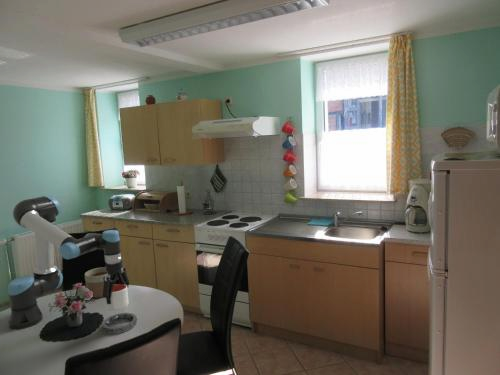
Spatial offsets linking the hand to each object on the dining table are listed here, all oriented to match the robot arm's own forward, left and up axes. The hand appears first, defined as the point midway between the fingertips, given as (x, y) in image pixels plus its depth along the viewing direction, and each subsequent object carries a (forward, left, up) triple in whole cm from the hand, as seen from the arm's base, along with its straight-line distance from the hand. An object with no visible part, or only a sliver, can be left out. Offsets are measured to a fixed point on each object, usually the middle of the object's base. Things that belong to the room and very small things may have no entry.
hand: (118, 304), depth 185 cm
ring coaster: (0, 0, -11) cm, 11 cm away
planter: (-38, +31, -11) cm, 50 cm away
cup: (0, 0, -1) cm, 1 cm away
